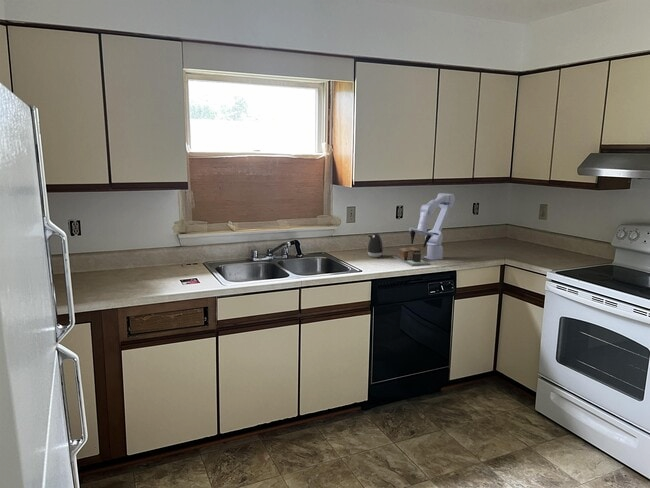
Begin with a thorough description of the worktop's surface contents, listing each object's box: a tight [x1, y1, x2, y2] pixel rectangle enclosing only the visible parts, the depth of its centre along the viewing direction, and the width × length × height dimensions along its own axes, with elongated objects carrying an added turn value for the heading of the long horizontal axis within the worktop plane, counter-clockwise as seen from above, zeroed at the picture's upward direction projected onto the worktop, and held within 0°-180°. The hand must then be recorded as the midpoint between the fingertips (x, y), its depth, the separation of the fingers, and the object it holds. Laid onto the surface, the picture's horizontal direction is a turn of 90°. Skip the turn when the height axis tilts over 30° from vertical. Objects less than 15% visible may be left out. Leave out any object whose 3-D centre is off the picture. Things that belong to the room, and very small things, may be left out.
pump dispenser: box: [366, 232, 384, 259], centre depth 316 cm, size 10×10×15 cm
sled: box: [405, 253, 422, 262], centre depth 306 cm, size 7×15×5 cm, turn 19°
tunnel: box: [397, 246, 422, 260], centre depth 309 cm, size 12×8×6 cm
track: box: [392, 254, 431, 267], centre depth 308 cm, size 12×25×1 cm, turn 19°
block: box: [405, 251, 414, 258], centre depth 309 cm, size 4×4×4 cm
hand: (418, 245), depth 299 cm, fingers open, 7 cm apart
